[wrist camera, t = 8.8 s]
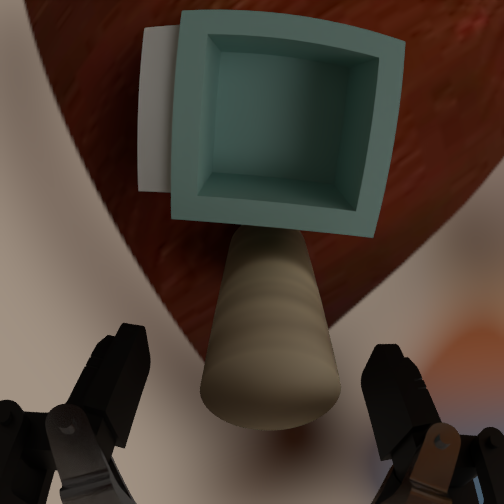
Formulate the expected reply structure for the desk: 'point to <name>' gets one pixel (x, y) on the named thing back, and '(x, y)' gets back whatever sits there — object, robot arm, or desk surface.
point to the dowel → (269, 336)
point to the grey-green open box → (283, 121)
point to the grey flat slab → (156, 107)
